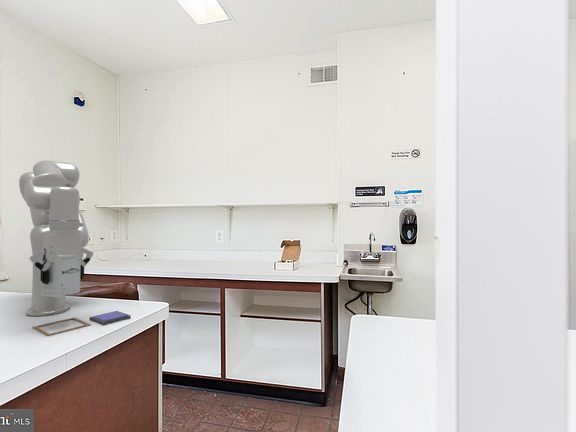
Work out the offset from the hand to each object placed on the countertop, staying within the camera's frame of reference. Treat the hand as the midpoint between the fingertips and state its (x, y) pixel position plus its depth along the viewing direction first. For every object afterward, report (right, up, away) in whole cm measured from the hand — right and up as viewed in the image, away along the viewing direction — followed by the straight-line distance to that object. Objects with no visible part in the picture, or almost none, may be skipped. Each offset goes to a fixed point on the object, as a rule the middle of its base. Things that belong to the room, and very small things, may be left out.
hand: (63, 281), depth 99 cm
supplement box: (-1, -4, 0) cm, 4 cm away
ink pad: (+10, -15, +8) cm, 20 cm away
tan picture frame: (0, -14, 0) cm, 14 cm away
